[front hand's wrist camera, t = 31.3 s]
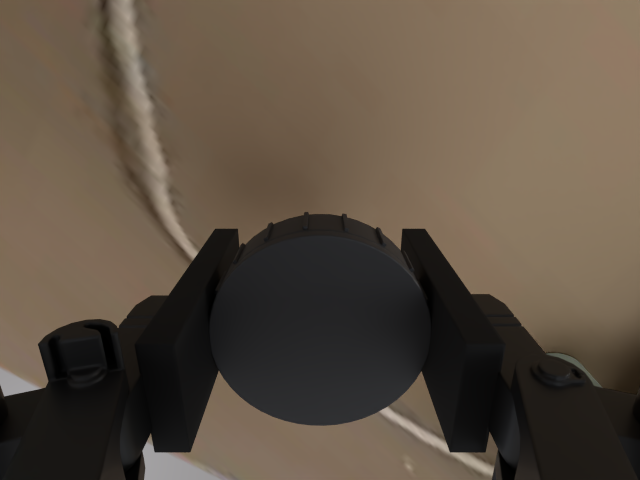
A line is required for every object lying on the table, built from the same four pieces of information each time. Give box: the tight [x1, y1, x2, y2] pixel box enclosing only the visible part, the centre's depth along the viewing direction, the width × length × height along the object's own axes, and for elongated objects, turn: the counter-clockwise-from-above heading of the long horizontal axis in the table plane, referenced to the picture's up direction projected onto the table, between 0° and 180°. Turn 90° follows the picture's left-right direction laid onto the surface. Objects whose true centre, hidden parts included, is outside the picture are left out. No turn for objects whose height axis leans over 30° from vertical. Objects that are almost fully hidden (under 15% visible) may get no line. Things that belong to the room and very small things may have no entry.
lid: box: [209, 212, 432, 426], centre depth 11 cm, size 6×6×2 cm
